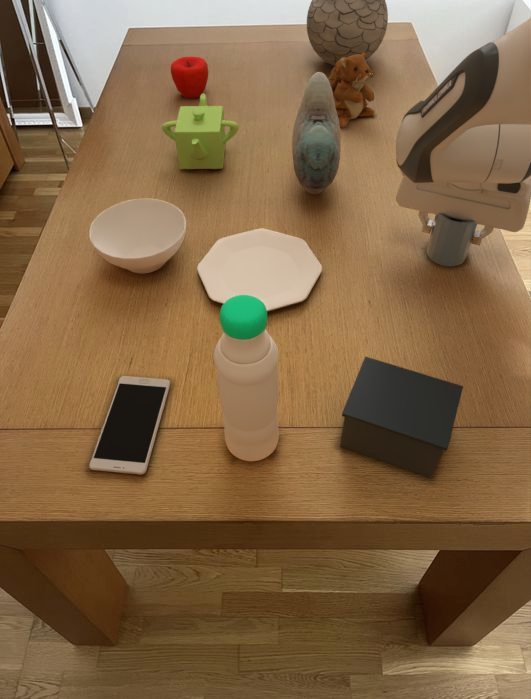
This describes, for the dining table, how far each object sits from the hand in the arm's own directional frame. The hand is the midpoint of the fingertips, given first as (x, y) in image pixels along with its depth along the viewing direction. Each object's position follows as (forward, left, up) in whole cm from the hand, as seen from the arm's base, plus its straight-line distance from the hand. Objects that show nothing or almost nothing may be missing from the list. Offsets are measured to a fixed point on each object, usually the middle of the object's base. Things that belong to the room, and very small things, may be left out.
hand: (450, 236), depth 95 cm
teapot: (+53, -11, -4) cm, 54 cm away
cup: (0, 0, -4) cm, 4 cm away
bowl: (+48, +21, -4) cm, 52 cm away
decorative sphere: (+40, -65, -4) cm, 76 cm away
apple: (+69, -36, -4) cm, 78 cm away
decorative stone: (+28, -10, -4) cm, 30 cm away
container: (-1, +39, -4) cm, 39 cm away
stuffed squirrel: (+32, -41, -4) cm, 52 cm away
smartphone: (+32, +51, -4) cm, 60 cm away
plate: (+28, +17, -4) cm, 33 cm away
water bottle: (+16, +47, -4) cm, 50 cm away
